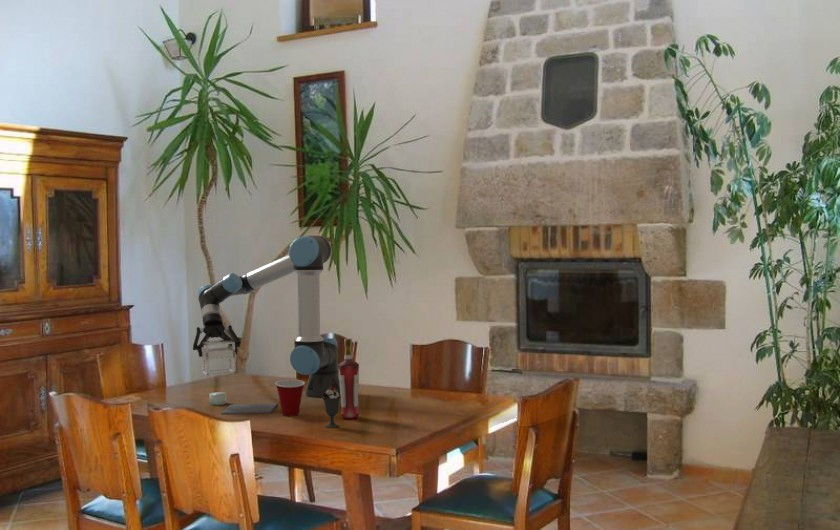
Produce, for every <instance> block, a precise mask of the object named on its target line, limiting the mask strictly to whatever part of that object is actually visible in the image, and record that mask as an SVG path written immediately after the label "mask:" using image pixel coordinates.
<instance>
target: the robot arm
mask: <svg viewBox="0 0 840 530" xmlns="http://www.w3.org/2000/svg"><path fill="white" fill-rule="evenodd" d="M332 250H333V249H332V245H331V243H330V241H329V240H328V239H327V238H326V237H324V236H320V235H302V236H299V237H297V238H295V239H294V240H293V241H292V242H291V244H290V245H289V248H288V254H286V255H285V256H283V257H280V258H278V259H276V260H274V261H271V262H268V263H267V264H264V265H263V266H260V267H258V268H256V269H253V270H251V271H249V272H247V273H244V274H242V275H240V276H239V275H237V274H236V273H234V272H230V273H228V274H227V275H225V276H223V278H221V279H220V280H218V281H217V282H216V283H215V284H213V285H212V284H205V285H203V286H201V287H200V288H199V289H198V293H197V294H198V298H197V299H198V302H199V306H200V313H201V319H202V324H203V327H202V328H201V327H198V326H196V333H195V338H194V341H193V345H192V346H193V347H192V350H193V351H197V353H198V357H199V358H201V362H202V361H203V365H205V366H206V359H205V353H204V349H205V345H204V344H203V342H205V341H209V339H215V338H220V340H232V341H234V342H235V363H236V362H237V354H238V348H240V347H241V344H242V342H241V340H240V339H239V337H238V335H236V333H235V331H234V330H233V327H232V325H228V326H225V325H224V324H223V318H222V312H221V307H220V304H221V303H223V302H224V301H225V300H227V299H228V298H229V297H233V296H238V295H247V294H251V293H252V292H254V290H256V289H258V288H262V287H263V286H266V285H268V284H270V283H272V282H274V281H277V280H279V279H282V278H284V277H286V276H288V275H289V276H290V275H291V274H293V273H295V274H296V275H297V330H298V331H297V332H298V333H297V337H295V339H294V344H293V345H294V346H293V347H294V348H293V349H292V351H291V353H290V355H289V361H290V365H291V367H292V368H293V370H295V371H296V372H297V373H298V374H301V375H303V376H305V375H306V376H307V375H309V377H308V380H307V384H306V386H305V395H306V396H307V397H313V398H322V397H323V395H322V394H323V393H324V392H325V393H326V391H327V390H328V389H329V388H330V387H332V388H336V389H337V390H336V391H337V392H338V393H339V396H340V383H339V369H338V365H339V360H338V357H339V356H338V354H339V353H338V351H339V350H338V348H339V347H338V346H339V345H338V341H337V339H336V338H334V337H333V338H330V337H329V338H327V337H323V336H322V335H321V315H320V314H321V313H320V312H321V303H320V302H321V301H320V298H321V296H320V295H321V293H320V290H321V289H320V287H321V285H320V280H321V279H320V274H321V273H322V272H323V271H324V264H325V263H326V262H328V261H329V259H330V258H331V256H332V253H333V251H332ZM202 333H204V336H203V338H202V339H201V341H200V337H201V335H202ZM227 333H228V334H227ZM199 341H200V342H199ZM229 345H230V347H231V348H232V344H229ZM203 346H204V347H203ZM334 382H336V383H335V386H334V385H333V384H334Z"/></svg>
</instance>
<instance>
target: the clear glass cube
mask: <svg viewBox="0 0 840 530" xmlns="http://www.w3.org/2000/svg"><path fill="white" fill-rule="evenodd" d="M203 344H204V346H203V347H204V353H205V359H206V362H205V365H203V361H202V360H201V365H202V368H201V369H202V373H203V374H204V375H206V376H218V375H226V374H227V375H229V374H236V373H237V372H236V370H237V369H236V365H237V364H236V362H235V342H234V341H232V340H223V339H217V340H215V339H214V340H207V341H205V342H203ZM229 344H232V348H231V346H230V345H229ZM221 345H227V346H225V347H222V346H221ZM210 346H221V347H211V348H210ZM222 359H228V368H227V367H226V368H216V369H215V368H213V369H210V366H209V365H210V364H209V363H210V361H209V360H211V361H212V360H222ZM231 361H232V362H231ZM220 371H221V372H220ZM222 371H223V372H222ZM210 372H211V373H210Z"/></svg>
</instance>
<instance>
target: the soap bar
mask: <svg viewBox="0 0 840 530" xmlns="http://www.w3.org/2000/svg"><path fill="white" fill-rule="evenodd" d="M208 395H209V396H208V397H209V405H210V406H222V405H225V404H226V405H227V392H224V391H217V392H209V394H208Z"/></svg>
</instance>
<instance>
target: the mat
mask: <svg viewBox="0 0 840 530" xmlns="http://www.w3.org/2000/svg"><path fill="white" fill-rule="evenodd" d="M277 406H278V403H246V404H245V403H238V404H229V405H228V406H227V407H226V408H225V409H224V410H223V411H221V415H240V414H241V415H242V414H244V415H245V414H247V415H248V414H250V415H251V414H271V413H272V412H273V411H274V410H275V408H276V407H277Z"/></svg>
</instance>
